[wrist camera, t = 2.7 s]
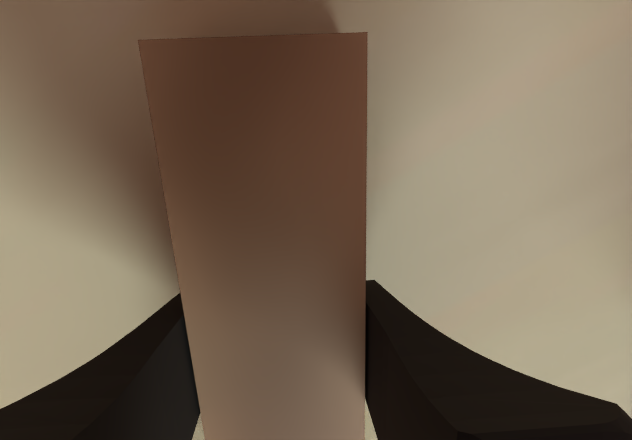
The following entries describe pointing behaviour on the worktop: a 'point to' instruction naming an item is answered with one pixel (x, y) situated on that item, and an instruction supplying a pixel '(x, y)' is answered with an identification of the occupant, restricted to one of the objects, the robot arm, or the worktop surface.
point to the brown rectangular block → (268, 225)
